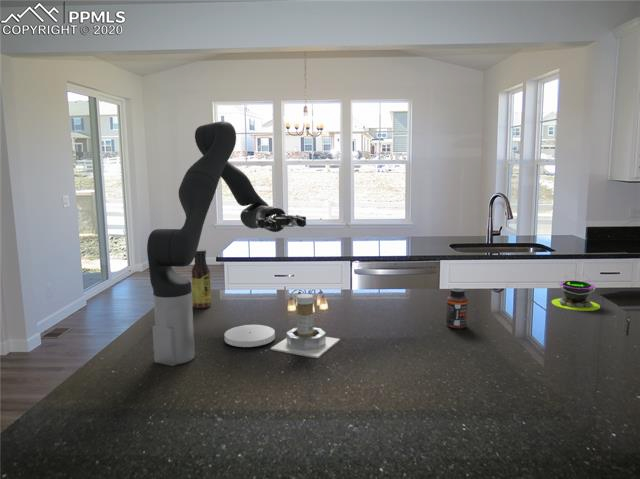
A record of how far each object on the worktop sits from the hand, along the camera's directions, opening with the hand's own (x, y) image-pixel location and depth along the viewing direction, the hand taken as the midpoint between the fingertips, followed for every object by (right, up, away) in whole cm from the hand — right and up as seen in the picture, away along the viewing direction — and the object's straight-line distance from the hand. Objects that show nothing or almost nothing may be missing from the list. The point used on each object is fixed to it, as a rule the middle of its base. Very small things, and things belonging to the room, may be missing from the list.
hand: (289, 224), depth 141 cm
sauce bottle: (-32, -28, +32) cm, 54 cm away
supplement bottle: (+50, -31, +10) cm, 59 cm away
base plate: (+5, -33, -5) cm, 34 cm away
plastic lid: (-11, -33, -1) cm, 35 cm away
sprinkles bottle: (+5, -33, -5) cm, 34 cm away
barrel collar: (+5, -33, -5) cm, 34 cm away
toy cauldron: (+97, -27, +31) cm, 105 cm away
